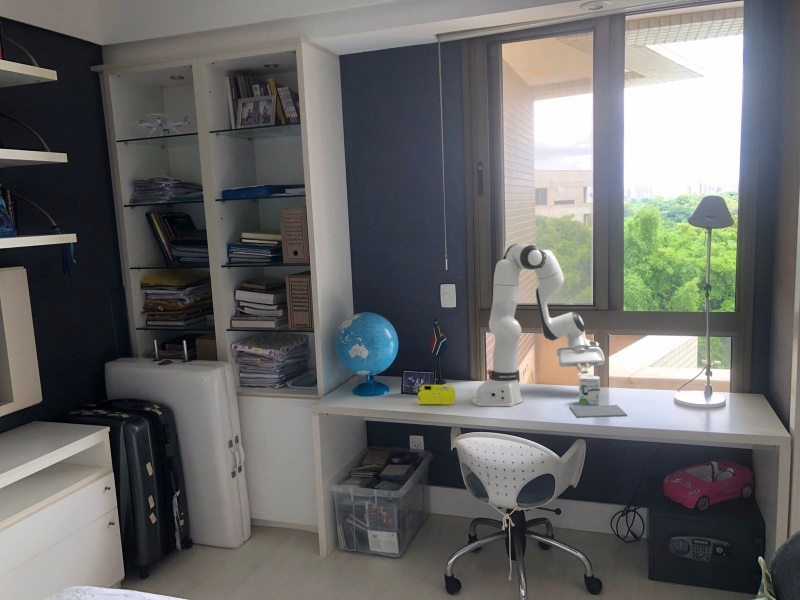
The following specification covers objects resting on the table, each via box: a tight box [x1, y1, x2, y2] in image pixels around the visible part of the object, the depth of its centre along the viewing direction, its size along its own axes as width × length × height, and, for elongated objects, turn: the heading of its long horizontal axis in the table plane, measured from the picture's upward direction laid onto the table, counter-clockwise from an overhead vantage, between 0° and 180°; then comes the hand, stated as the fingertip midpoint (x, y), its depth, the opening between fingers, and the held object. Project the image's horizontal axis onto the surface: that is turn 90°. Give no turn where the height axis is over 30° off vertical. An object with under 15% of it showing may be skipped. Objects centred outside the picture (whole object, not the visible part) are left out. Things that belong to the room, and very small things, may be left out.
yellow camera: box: [417, 384, 456, 406], centre depth 289 cm, size 16×6×8 cm, turn 79°
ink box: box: [578, 374, 601, 406], centre depth 279 cm, size 9×5×12 cm, turn 71°
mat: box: [569, 404, 628, 419], centre depth 267 cm, size 20×14×1 cm
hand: (584, 372), depth 287 cm, fingers closed
